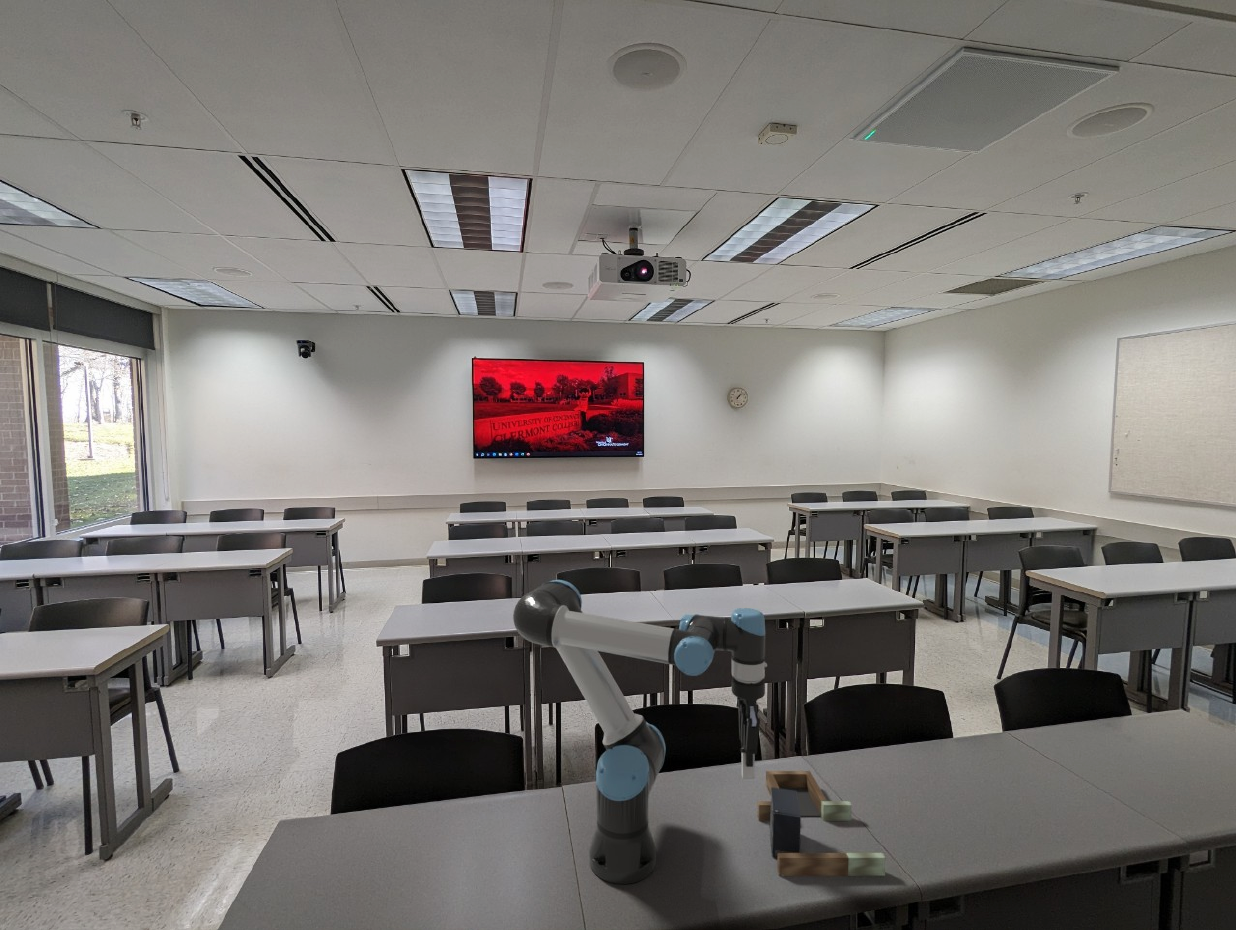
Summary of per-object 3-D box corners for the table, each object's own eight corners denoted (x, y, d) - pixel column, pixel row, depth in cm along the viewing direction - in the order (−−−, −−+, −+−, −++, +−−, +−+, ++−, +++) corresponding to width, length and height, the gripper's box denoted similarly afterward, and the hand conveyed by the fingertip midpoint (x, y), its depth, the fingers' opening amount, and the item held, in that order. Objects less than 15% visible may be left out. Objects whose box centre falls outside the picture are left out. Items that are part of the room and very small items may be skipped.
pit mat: (785, 816, 149) (785, 815, 149) (772, 788, 161) (772, 787, 161) (821, 816, 149) (821, 815, 149) (805, 788, 161) (805, 787, 161)
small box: (801, 862, 133) (802, 817, 133) (771, 858, 135) (772, 813, 134) (796, 831, 144) (797, 789, 143) (769, 828, 145) (769, 786, 144)
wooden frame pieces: (779, 875, 129) (779, 857, 129) (745, 785, 162) (745, 771, 162) (885, 875, 129) (885, 857, 129) (829, 785, 163) (829, 771, 162)
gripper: (771, 689, 131) (771, 793, 132) (757, 666, 144) (757, 761, 145) (737, 689, 131) (737, 793, 132) (726, 666, 144) (726, 761, 145)
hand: (747, 776), depth 138 cm, fingers closed
